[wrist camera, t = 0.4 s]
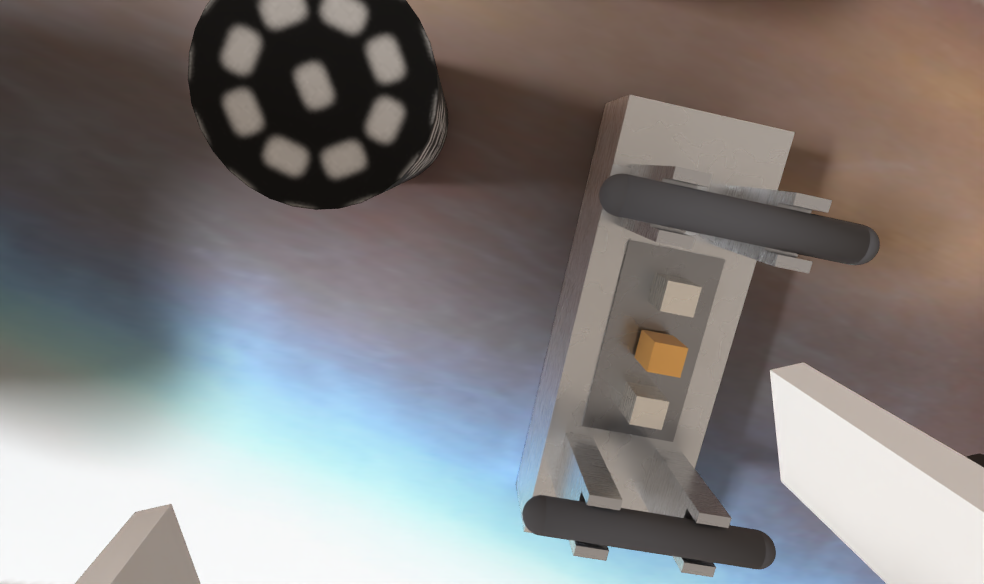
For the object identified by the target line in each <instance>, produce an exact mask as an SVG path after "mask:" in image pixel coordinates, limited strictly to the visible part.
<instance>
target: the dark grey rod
mask: <svg viewBox="0 0 984 584" xmlns="http://www.w3.org/2000/svg"><path fill="white" fill-rule="evenodd" d="M599 200H600V203H601V205H602V207H603V208H604V210H605V211H607V212H608V213H609V214H611V215H614V216H618V217H623V218H628V219H633V220H637V221H642V222H647V223H652V224H657V225H661V226H666V227H671V228H676V229H681V230H686V231H690V232H695V233H700V234H705V235H710V236H714V237H719V238H724V239H729V240H734V241H738V242H743V243H748V244H753V245H758V246H762V247H767V248H772V249H777V250H782V251H786V252H791V253H796V254H801V255H806V256H810V257H815V258H820V259H825V260H830V261H834V262H839V263H844V264H849V265H861V264H864V263H867V262H869V261H870V260H872V259H873V258H874V257H875V256H876V254H877V253H878V250H879V246H880V242H879V238H878V236H877V234H876V233H875V231H874V230H872V229H871V228H869V227H867V226H864V225H861V224H856V223H852V222H847V221H842V220H838V219H833V218H829V217H824V216H819V215H815V214H810V213H805V212H801V211H796V210H791V209H787V208H782V207H777V206H773V205H768V204H763V203H759V202H754V201H749V200H745V199H740V198H736V197H731V196H726V195H722V194H717V193H712V192H708V191H703V190H698V189H694V188H689V187H684V186H680V185H675V184H670V183H666V182H661V181H656V180H652V179H647V178H643V177H638V176H633V175H629V174H622V173H621V174H615V175H612V176H610V177H609V178H607V179H606V180H605V181H604V183H603V184H602V186H601V188H600V191H599Z"/></svg>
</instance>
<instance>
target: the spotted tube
mask: <svg viewBox="0 0 984 584" xmlns="http://www.w3.org/2000/svg"><path fill="white" fill-rule="evenodd" d="M188 83H189V89H190V96H191V103H192V106H193V109H194V112H195V115H196V118H197V121H198V124H199V127H200V129H201V131H202V133H203V135H204V136H205V138H206V140H207V142H208V143H209V145H210V147H211V149H212V150H213V152H214V153H215V154H216V155H217V157H218V158H219V159H220V160H221V161H222V163H223V164H224V165H225V166H226V167H227V169H228V170H229V171H230V172H232V173H233V174H234V175H235V176H236V177H238V178H239V179H240V180H241V181H242V182H244V183H245V184H246V185H247V186H248V187H250V188H252V189H254V190H255V191H257V192H259V193H261V194H263V195H264V196H266V197H268V198H270V199H273V200H275V201H278V202H281V203H284V204H287V205H290V206H294V207H301V208H308V209H315V210H318V209H338V208H343V207H347V206H351V205H355V204H358V203H362V202H364V201H366V200H368V199H370V198H372V197H374V196H376V195H379V194H381V193H383V192H385V191H387V190H389V189H391V188H393V187H395V186H397V185H399V184H401V183H403V182H405V181H407V180H409V179H411V178H413V177H415V176H418V175H419V174H420V173H422V172H423V171H424V170H426V169H427V168H428V167H429V166H430V165H431V164H432V163H433V161H434V160H435V159H436V158H437V156H438V154H439V153H440V151H441V149H442V147H443V144H444V141H445V138H446V135H447V127H448V113H447V107H446V103H445V99H444V95H443V91H442V87H441V83H440V79H439V75H438V71H437V67H436V63H435V59H434V55H433V51H432V48H431V44H430V41H429V39H428V37H427V35H426V33H425V30H424V28H423V26H422V24H421V22H420V20H419V18H418V17H417V15H416V14H415V12H414V11H413V10H412V8H411V7H410V5H409V4H408V3H407V1H406V0H210V1H209V3H208V4H207V5H206V7H205V9H204V11H203V13H202V15H201V17H200V19H199V21H198V24H197V26H196V28H195V31H194V35H193V39H192V43H191V47H190V51H189V66H188Z"/></svg>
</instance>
